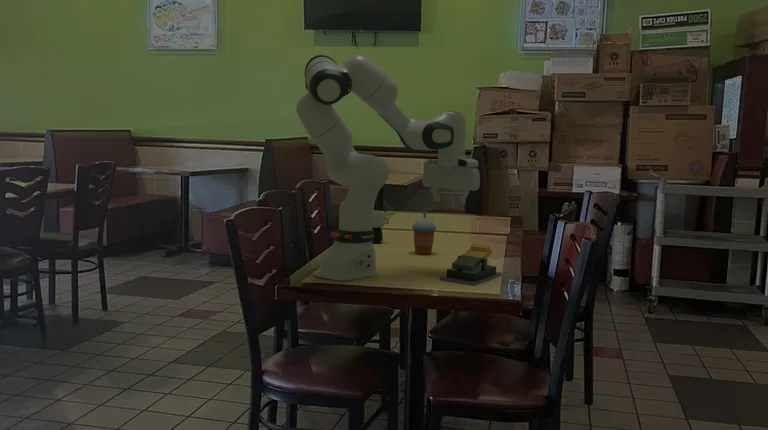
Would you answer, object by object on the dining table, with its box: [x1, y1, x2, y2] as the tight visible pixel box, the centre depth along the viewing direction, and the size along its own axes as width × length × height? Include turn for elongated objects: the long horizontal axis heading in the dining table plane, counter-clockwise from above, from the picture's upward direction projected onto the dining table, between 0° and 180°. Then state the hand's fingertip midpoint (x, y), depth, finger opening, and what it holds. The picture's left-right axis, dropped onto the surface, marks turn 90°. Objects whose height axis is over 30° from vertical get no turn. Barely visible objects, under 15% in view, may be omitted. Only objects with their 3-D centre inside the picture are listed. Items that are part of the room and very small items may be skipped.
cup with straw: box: [411, 206, 437, 256], centre depth 268 cm, size 9×9×18 cm
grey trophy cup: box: [372, 209, 390, 243], centre depth 290 cm, size 11×7×13 cm, turn 86°
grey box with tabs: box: [439, 254, 503, 286], centre depth 226 cm, size 20×12×7 cm, turn 146°
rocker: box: [451, 243, 493, 271], centre depth 225 cm, size 14×7×3 cm, turn 146°
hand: (449, 202), depth 235 cm, fingers open, 8 cm apart
